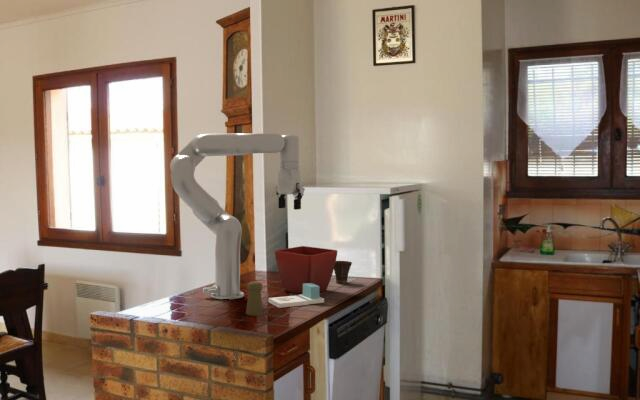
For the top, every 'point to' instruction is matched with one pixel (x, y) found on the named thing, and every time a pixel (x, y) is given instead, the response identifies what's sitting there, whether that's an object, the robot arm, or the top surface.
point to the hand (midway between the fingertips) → (289, 208)
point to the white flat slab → (288, 301)
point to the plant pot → (305, 267)
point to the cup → (342, 271)
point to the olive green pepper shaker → (254, 299)
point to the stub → (311, 293)
